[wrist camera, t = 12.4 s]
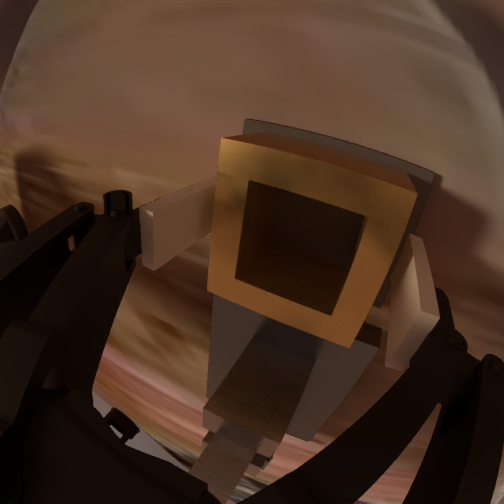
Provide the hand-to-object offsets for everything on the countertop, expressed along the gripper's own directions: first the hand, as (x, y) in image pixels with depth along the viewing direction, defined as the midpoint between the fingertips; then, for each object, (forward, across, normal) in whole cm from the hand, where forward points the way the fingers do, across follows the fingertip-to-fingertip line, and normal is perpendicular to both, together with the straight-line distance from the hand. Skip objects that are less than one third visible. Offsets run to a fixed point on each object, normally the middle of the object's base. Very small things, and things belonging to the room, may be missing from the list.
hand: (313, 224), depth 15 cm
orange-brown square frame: (+2, 0, 0) cm, 2 cm away
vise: (+2, +1, -16) cm, 16 cm away
